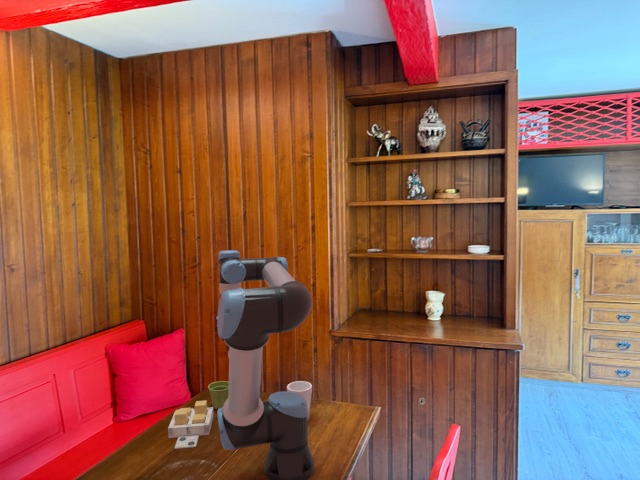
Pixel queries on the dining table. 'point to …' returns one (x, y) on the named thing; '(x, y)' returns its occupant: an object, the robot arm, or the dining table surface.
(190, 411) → the tan cube block
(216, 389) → the plant pot
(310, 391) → the foam cup
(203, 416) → the button near right
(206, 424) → the board
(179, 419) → the button near left
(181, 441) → the pattern card
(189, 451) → the dining table surface
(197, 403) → the button far right
